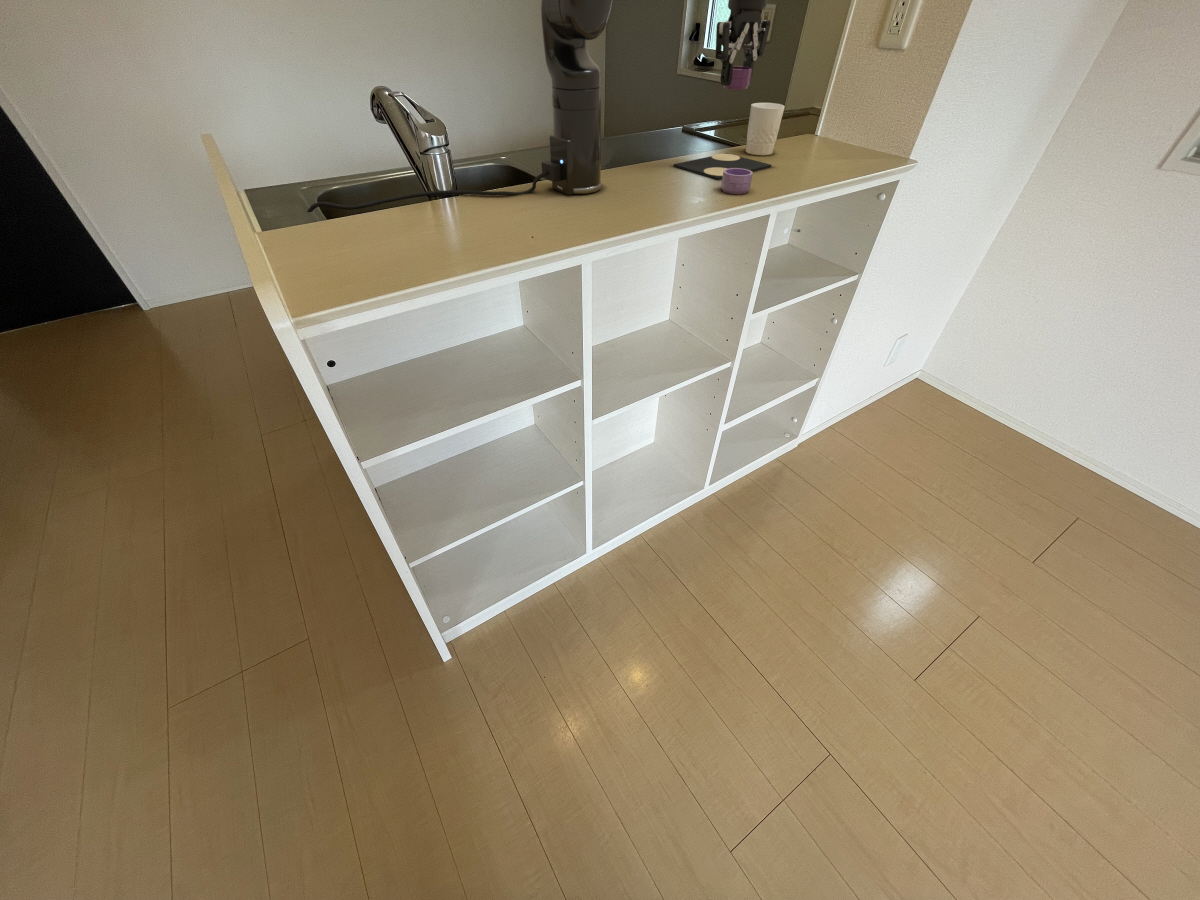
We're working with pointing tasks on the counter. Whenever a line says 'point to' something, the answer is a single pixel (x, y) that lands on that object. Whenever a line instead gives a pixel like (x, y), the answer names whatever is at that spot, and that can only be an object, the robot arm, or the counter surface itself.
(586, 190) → the robot arm
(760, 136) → the white cup
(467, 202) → the counter surface
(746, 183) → the lilac dish
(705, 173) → the mat
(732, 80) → the plum dish
